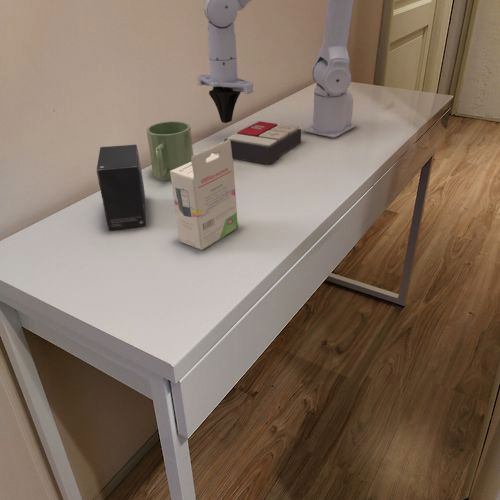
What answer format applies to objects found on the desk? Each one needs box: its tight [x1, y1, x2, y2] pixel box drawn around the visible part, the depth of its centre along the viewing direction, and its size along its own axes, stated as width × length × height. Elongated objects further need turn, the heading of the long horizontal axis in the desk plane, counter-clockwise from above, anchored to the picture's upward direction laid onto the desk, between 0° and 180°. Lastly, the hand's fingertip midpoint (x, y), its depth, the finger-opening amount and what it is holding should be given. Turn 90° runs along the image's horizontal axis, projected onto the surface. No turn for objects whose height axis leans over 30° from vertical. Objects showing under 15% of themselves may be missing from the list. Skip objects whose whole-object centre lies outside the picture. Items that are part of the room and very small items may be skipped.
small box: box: [96, 144, 147, 231], centre depth 82 cm, size 11×6×10 cm, turn 12°
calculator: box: [223, 120, 302, 165], centre depth 108 cm, size 11×4×15 cm
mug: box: [146, 120, 194, 181], centre depth 96 cm, size 11×8×9 cm
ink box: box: [170, 139, 239, 251], centre depth 74 cm, size 9×5×15 cm, turn 141°
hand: (226, 121), depth 112 cm, fingers closed
